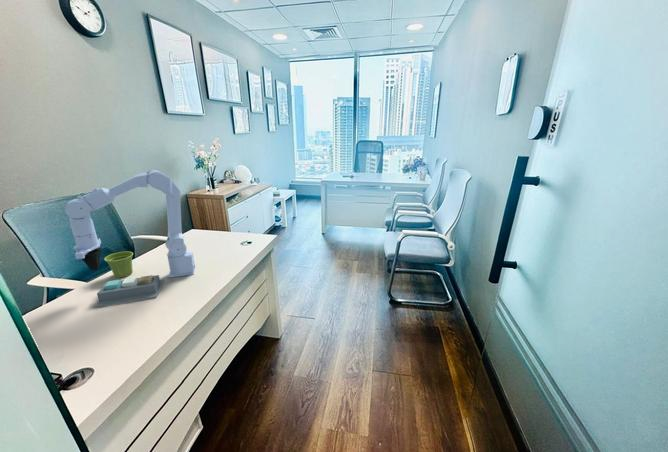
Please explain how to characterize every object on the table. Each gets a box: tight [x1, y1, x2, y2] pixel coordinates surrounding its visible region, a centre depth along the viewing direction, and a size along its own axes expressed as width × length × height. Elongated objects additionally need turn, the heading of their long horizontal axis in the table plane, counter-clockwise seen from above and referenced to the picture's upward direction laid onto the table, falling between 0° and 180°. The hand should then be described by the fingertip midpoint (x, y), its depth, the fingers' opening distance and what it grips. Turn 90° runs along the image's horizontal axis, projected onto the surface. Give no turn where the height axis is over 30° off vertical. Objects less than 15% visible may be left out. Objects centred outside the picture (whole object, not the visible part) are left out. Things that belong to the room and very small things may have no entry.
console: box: [94, 274, 164, 309], centre depth 98 cm, size 18×13×4 cm
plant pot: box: [103, 251, 134, 279], centre depth 110 cm, size 9×9×9 cm
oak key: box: [138, 275, 153, 285], centre depth 99 cm, size 4×4×4 cm
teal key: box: [105, 279, 121, 290], centre depth 96 cm, size 4×4×4 cm
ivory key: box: [122, 277, 138, 287], centre depth 97 cm, size 4×4×4 cm
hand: (94, 269), depth 95 cm, fingers closed
